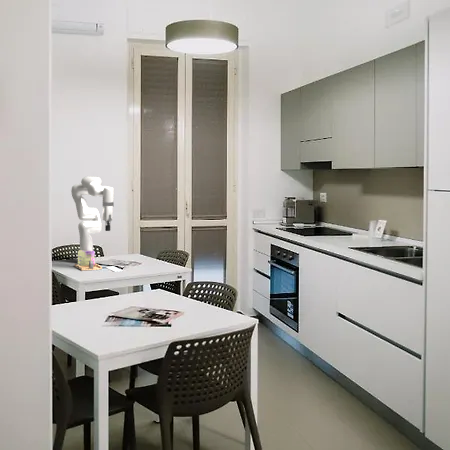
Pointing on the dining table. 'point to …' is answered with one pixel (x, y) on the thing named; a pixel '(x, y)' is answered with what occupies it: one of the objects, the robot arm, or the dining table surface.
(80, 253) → the box
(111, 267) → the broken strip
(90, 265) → the lane frame
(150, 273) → the dining table surface
